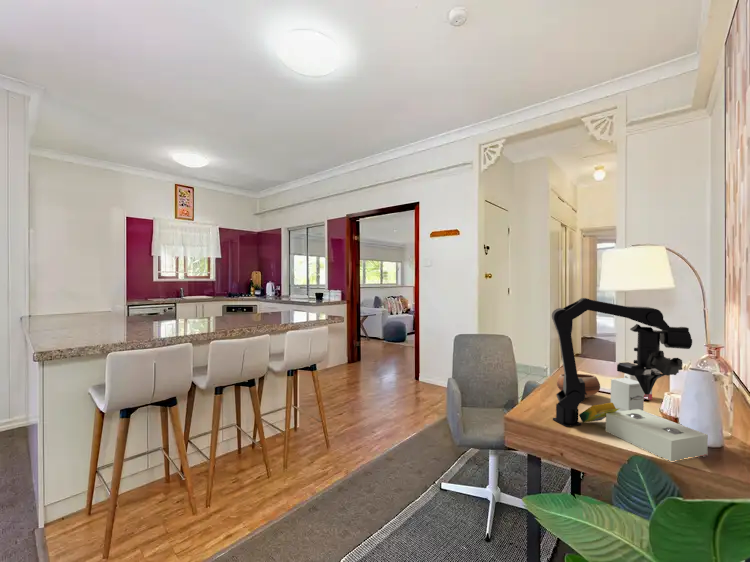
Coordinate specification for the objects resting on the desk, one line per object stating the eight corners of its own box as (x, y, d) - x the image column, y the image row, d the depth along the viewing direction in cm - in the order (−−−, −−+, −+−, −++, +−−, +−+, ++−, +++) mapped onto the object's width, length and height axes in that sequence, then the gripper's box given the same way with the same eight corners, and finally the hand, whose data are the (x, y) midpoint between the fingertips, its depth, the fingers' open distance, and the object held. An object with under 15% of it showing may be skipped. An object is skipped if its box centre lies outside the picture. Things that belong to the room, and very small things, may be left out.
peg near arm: (636, 435, 112) (636, 417, 112) (627, 431, 115) (627, 413, 115) (643, 434, 113) (644, 416, 113) (634, 430, 116) (634, 412, 116)
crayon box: (597, 411, 126) (616, 400, 117) (601, 420, 124) (621, 409, 115) (577, 414, 125) (596, 402, 116) (582, 423, 123) (600, 411, 114)
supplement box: (628, 419, 126) (629, 384, 126) (609, 411, 133) (610, 378, 133) (644, 417, 128) (645, 382, 128) (624, 410, 135) (625, 377, 135)
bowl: (577, 389, 159) (578, 367, 158) (609, 402, 144) (609, 377, 143) (548, 392, 155) (548, 369, 154) (577, 405, 139) (578, 380, 139)
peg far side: (674, 452, 102) (674, 432, 101) (663, 447, 104) (663, 428, 104) (681, 450, 102) (682, 431, 102) (670, 445, 105) (670, 426, 105)
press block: (671, 462, 97) (671, 440, 97) (605, 431, 116) (606, 413, 116) (707, 455, 101) (707, 434, 101) (638, 426, 120) (638, 409, 120)
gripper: (650, 352, 105) (648, 405, 105) (698, 350, 109) (696, 400, 109) (616, 345, 115) (614, 392, 116) (661, 343, 120) (659, 389, 120)
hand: (646, 394), depth 115 cm, fingers closed
